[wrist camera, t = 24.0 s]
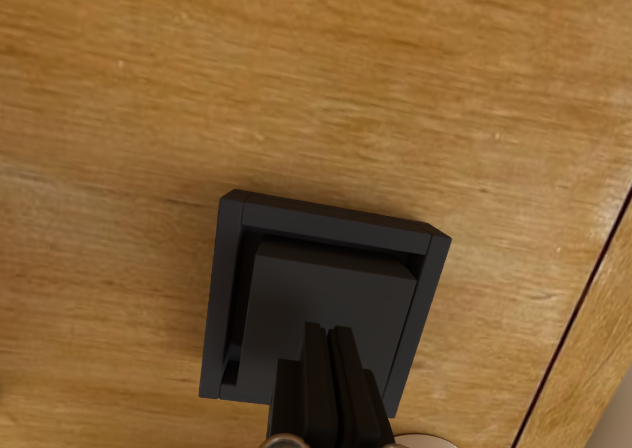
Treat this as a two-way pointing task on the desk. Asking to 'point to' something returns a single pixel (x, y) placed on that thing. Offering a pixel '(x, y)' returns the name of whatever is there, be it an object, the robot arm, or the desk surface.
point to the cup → (423, 441)
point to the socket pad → (318, 226)
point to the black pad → (321, 305)
